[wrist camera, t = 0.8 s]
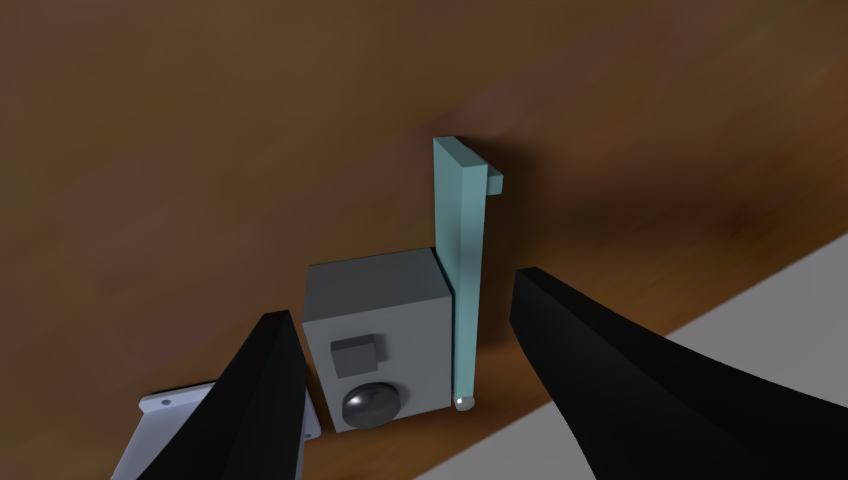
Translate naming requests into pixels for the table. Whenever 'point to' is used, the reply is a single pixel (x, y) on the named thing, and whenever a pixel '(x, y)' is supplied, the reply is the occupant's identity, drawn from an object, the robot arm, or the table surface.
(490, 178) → the side door
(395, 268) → the camera case
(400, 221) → the table surface
